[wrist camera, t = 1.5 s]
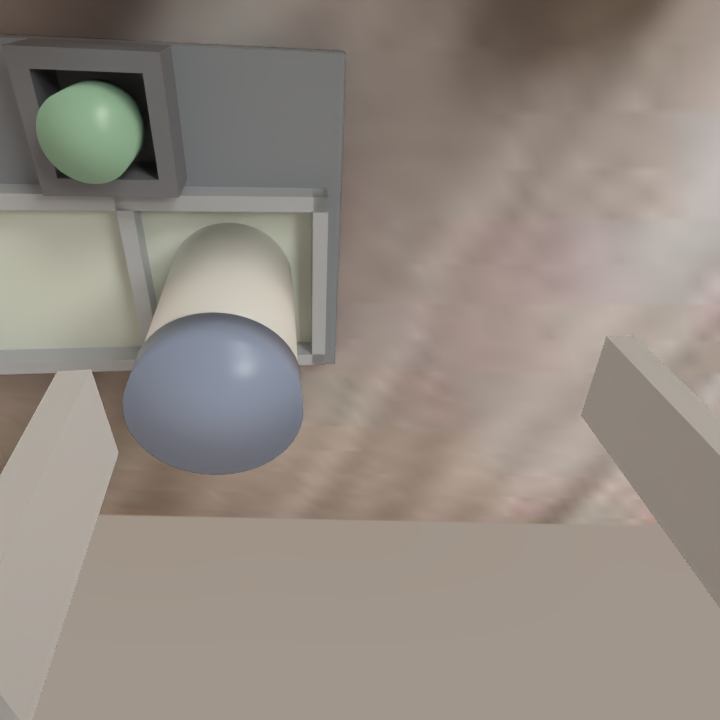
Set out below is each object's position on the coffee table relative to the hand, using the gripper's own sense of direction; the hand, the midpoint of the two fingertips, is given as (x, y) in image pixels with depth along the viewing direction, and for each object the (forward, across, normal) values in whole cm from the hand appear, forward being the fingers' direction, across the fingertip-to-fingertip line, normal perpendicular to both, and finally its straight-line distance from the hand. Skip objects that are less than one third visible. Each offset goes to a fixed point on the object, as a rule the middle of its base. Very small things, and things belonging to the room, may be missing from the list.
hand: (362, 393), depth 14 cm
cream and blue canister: (+18, -5, -5) cm, 20 cm away
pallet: (+20, -10, -2) cm, 22 cm away
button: (+16, -10, +4) cm, 19 cm away
